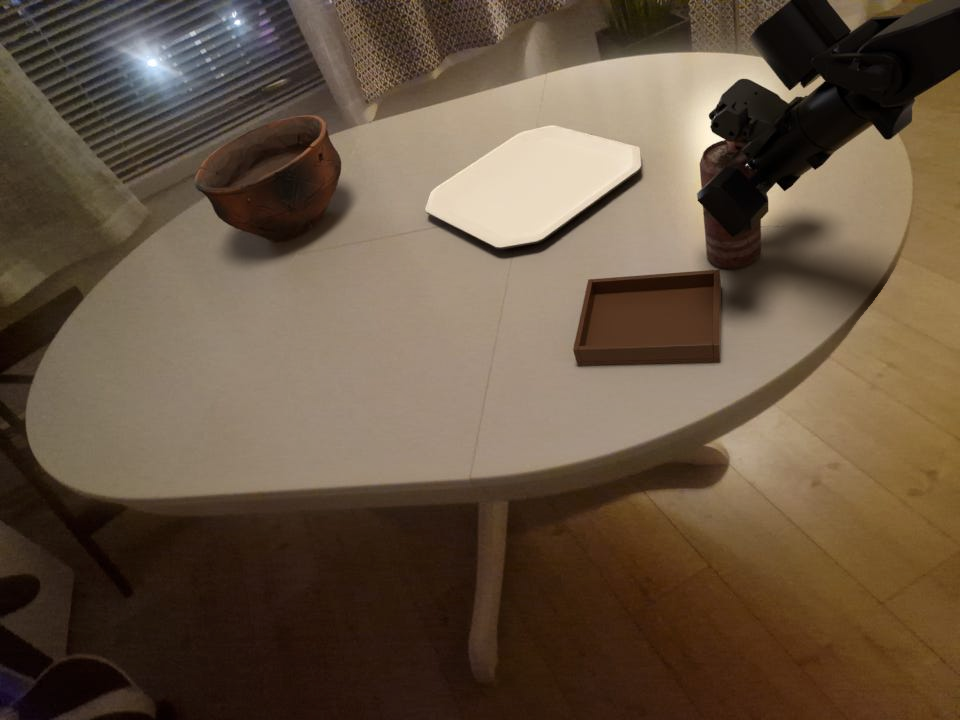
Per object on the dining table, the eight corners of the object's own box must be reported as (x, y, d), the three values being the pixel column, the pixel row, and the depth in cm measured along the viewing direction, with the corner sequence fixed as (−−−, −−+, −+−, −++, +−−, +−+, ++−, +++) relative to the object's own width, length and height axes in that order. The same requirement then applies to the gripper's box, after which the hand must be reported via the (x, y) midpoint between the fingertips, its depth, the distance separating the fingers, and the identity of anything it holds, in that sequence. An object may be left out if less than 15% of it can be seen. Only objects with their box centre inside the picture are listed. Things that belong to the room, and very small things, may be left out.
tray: (720, 286, 76) (719, 269, 74) (720, 362, 68) (718, 344, 66) (591, 295, 81) (588, 279, 80) (577, 365, 73) (572, 349, 72)
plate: (415, 213, 110) (410, 202, 109) (540, 130, 118) (537, 119, 116) (520, 268, 90) (516, 256, 88) (663, 164, 98) (661, 150, 96)
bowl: (370, 225, 112) (331, 145, 102) (239, 281, 112) (187, 207, 102) (352, 170, 131) (318, 98, 121) (240, 218, 131) (196, 151, 121)
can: (754, 234, 80) (752, 129, 71) (765, 265, 76) (765, 158, 66) (703, 243, 82) (695, 142, 73) (711, 274, 77) (703, 171, 68)
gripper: (811, 16, 64) (715, 112, 78) (709, 109, 57) (624, 196, 72) (889, 98, 64) (778, 179, 78) (795, 201, 57) (693, 269, 72)
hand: (720, 202), depth 75 cm, fingers closed on can, 5 cm apart
